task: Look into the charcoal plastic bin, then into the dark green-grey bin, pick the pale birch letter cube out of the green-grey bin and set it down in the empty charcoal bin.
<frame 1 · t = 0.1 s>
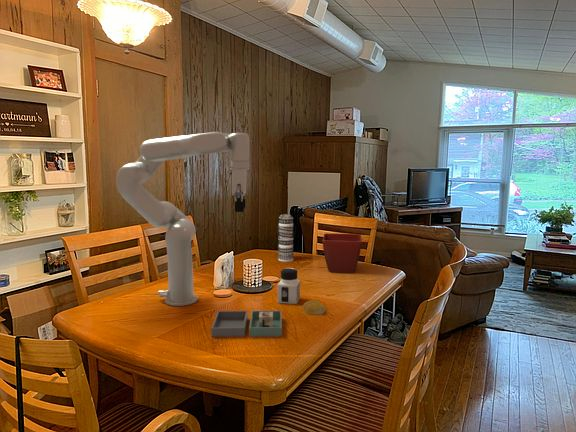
hand: (240, 210, 170), 37 cm above the table, tool pointing down, fingers open, 9 cm apart
container: (288, 301, 176), on the table
plant pot: (341, 269, 222), on the table
letter cube: (266, 327, 148), point 1 cm above the table, touching green-grey bin
bread roll: (313, 312, 164), on the table
green-grey bin: (266, 328, 148), on the table
decorative candle: (285, 260, 241), on the table
charcoal bin: (230, 328, 147), on the table
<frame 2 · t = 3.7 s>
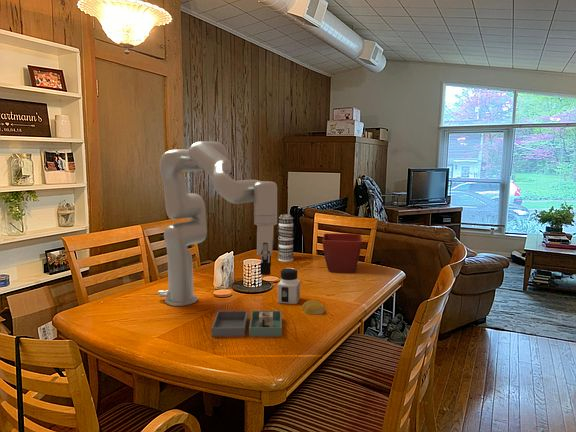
hand: (265, 270, 145), 20 cm above the table, tool pointing down, fingers open, 9 cm apart
nothing on the table moved.
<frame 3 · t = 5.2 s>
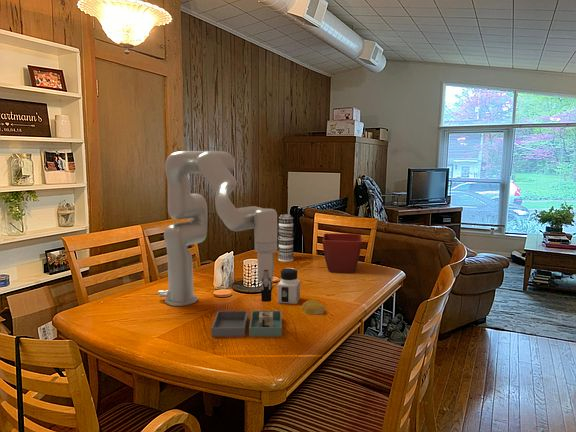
hand: (266, 296, 146), 11 cm above the table, tool pointing down, fingers open, 9 cm apart
nothing on the table moved.
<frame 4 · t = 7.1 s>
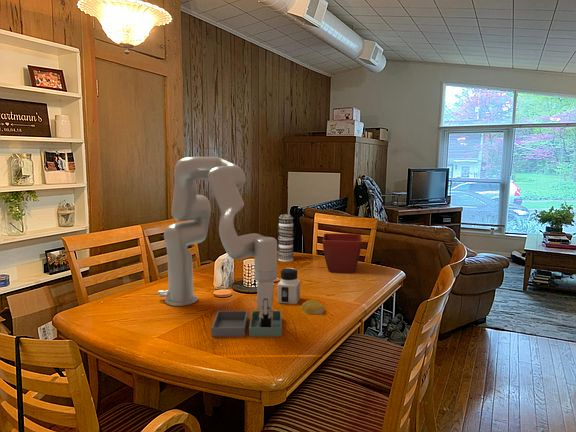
hand: (266, 326, 148), 1 cm above the table, tool pointing down, fingers closed on letter cube, 4 cm apart
letter cube: (266, 327, 148), point 1 cm above the table, touching green-grey bin, gripper
everything else where it was.
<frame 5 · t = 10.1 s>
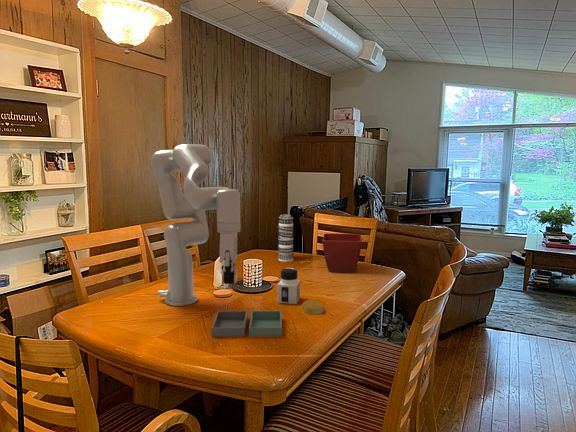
hand: (229, 280, 145), 17 cm above the table, tool pointing down, fingers closed on letter cube, 4 cm apart
letter cube: (229, 281, 145), point 17 cm above the table, touching gripper
everything else where it was.
when the fingers open (3 cm above the table, at t = 13.0 s): letter cube drops 2 cm, resting on charcoal bin.
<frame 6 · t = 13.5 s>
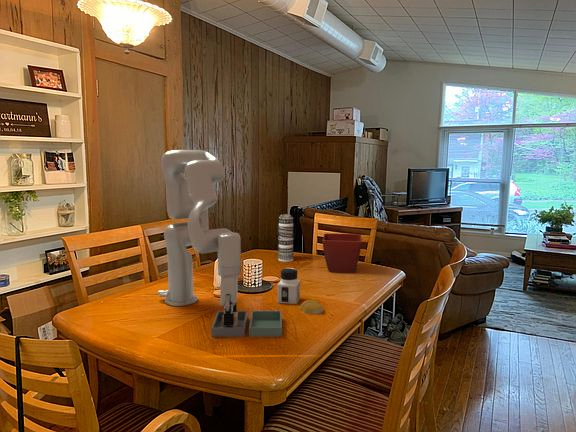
hand: (230, 319, 147), 3 cm above the table, tool pointing down, fingers open, 9 cm apart
letter cube: (230, 327, 147), point 1 cm above the table, touching charcoal bin
everything else where it was.
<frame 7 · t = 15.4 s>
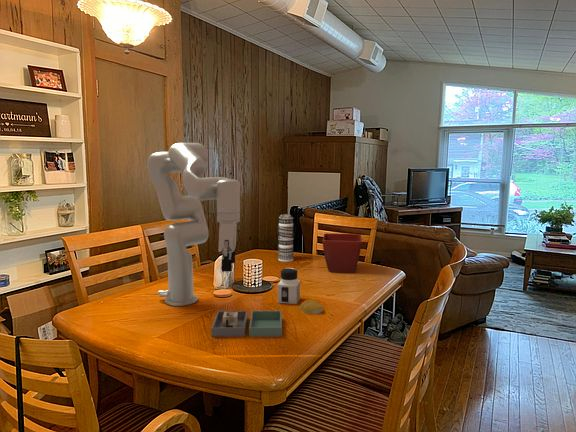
hand: (228, 266, 147), 21 cm above the table, tool pointing down, fingers open, 9 cm apart
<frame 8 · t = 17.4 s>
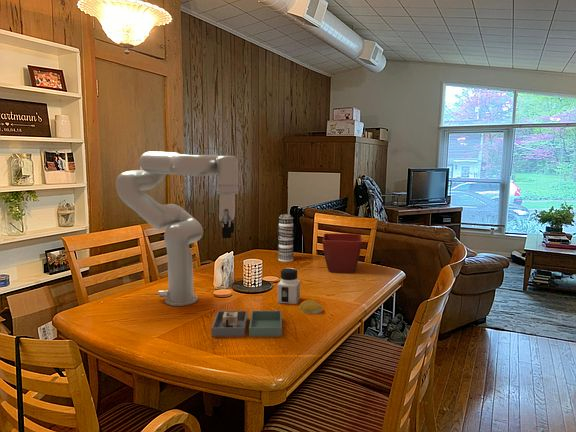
hand: (228, 235, 163), 28 cm above the table, tool pointing down, fingers open, 9 cm apart
at the end: letter cube inside the target area on the charcoal bin (0.1 cm from its centre), point 0.6 cm above the charcoal bin's base; letter cube tilted 0°; the gripper is holding nothing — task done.
